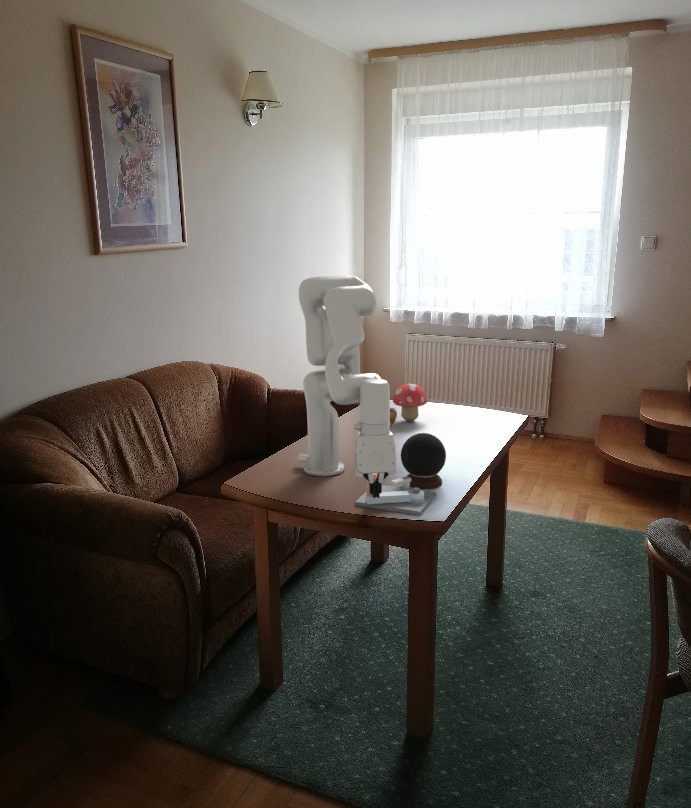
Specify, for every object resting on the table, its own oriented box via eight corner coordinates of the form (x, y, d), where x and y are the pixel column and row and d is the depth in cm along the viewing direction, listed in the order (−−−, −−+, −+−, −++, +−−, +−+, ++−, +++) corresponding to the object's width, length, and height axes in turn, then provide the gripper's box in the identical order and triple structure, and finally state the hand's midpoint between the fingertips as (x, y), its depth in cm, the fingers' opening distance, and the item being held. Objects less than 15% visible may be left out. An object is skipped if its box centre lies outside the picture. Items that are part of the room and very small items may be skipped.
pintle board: (436, 495, 189) (436, 479, 188) (420, 515, 176) (420, 498, 175) (374, 487, 197) (374, 471, 195) (355, 505, 184) (354, 488, 183)
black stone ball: (416, 472, 209) (417, 425, 205) (453, 481, 200) (455, 432, 197) (391, 484, 199) (391, 435, 195) (429, 494, 191) (430, 443, 187)
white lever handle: (422, 495, 186) (422, 468, 184) (425, 501, 182) (426, 473, 180) (365, 499, 184) (365, 471, 182) (367, 505, 180) (367, 476, 178)
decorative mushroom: (428, 426, 258) (429, 387, 254) (393, 426, 258) (393, 388, 255) (425, 416, 271) (425, 380, 267) (391, 417, 271) (391, 380, 268)
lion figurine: (391, 428, 255) (391, 405, 253) (400, 431, 251) (400, 408, 249) (360, 435, 247) (360, 412, 245) (369, 439, 243) (369, 414, 241)
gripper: (347, 433, 167) (348, 503, 171) (406, 430, 168) (406, 499, 173) (344, 425, 174) (345, 492, 178) (401, 422, 176) (401, 489, 180)
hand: (375, 495), depth 175 cm, fingers closed
